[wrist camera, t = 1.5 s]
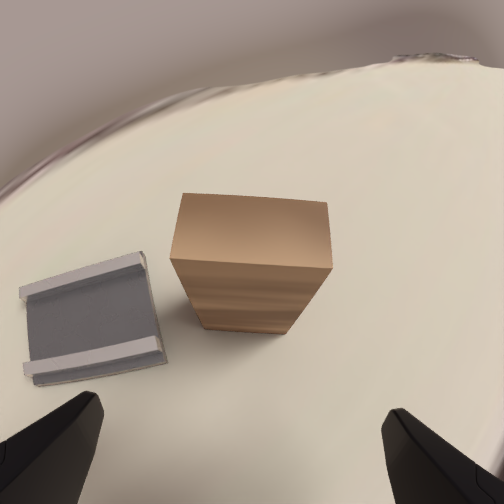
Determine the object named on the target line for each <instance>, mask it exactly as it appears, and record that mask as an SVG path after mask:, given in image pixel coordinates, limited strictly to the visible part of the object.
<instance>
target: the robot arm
mask: <svg viewBox="0 0 504 504" xmlns="http://www.w3.org/2000/svg"><path fill="white" fill-rule="evenodd" d="M103 418H104V410H103V407H102V404H101V402H100V399H99V396H98V395H97V394H96V393H93V392H90V391H84V392H82V393H80V394H79V395H77V396H76V397H74V398H73V399H71V400H69V401H68V402H66V403H65V404H63V405H62V406H60V407H58V408H57V409H55V410H54V411H52V412H50V413H49V414H47V415H46V416H44V417H42V418H41V419H39V420H38V421H36V422H34V423H33V424H31V425H30V426H28V427H26V428H25V429H23V430H21V431H20V432H18V433H16V434H15V435H13V436H12V437H10V438H8V439H7V441H6V440H5V441H3V442H1V443H0V504H77V503H78V500H79V497H80V494H81V491H82V488H83V485H84V482H85V479H86V476H87V474H88V471H89V468H90V465H91V462H92V460H93V457H94V454H95V450H96V446H97V442H98V437H99V433H100V429H101V426H102V422H103ZM381 433H382V439H383V445H384V452H385V459H386V466H387V471H388V475H389V479H390V483H391V487H392V491H393V495H394V499H395V503H396V504H504V481H502V480H500V479H499V478H497V477H495V476H494V475H492V474H491V473H489V472H488V471H486V470H485V469H483V468H482V467H481V466H479V465H478V464H476V463H475V462H474V461H472V460H471V459H470V458H468V457H467V456H465V455H464V454H463V453H461V452H460V451H459V450H457V449H456V448H455V447H453V446H452V445H451V444H449V443H448V442H447V441H445V440H444V439H443V438H441V437H440V436H439V435H438V434H436V433H435V432H434V431H432V430H431V429H430V428H428V427H427V426H426V425H424V424H423V423H422V422H421V421H419V420H418V419H417V418H415V417H414V416H413V415H412V414H410V413H409V412H408V411H406V410H405V409H403V408H397V409H392V410H390V411H389V413H388V415H387V417H386V419H385V421H384V423H383V425H382V428H381Z"/></svg>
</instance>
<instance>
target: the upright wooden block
mask: <svg viewBox="0 0 504 504" xmlns="http://www.w3.org/2000/svg"><path fill="white" fill-rule="evenodd" d="M170 260H171V262H172V265H173V267H174V269H175V271H176V273H177V275H178V277H179V279H180V281H181V284H182V286H183V288H184V290H185V292H186V294H187V296H188V298H189V300H190V302H191V304H192V306H193V308H194V310H195V312H196V314H197V316H198V318H199V320H200V322H201V324H202V325H203V327H204V329H209V330H221V331H235V332H251V333H271V334H286V333H287V332H288V330H289V329H290V328H291V326H292V325H293V324H294V322H295V321H296V320H297V318H298V317H299V316H300V314H301V313H302V312H303V310H304V309H305V307H306V306H307V305H308V303H309V302H310V300H311V299H312V298H313V296H314V295H315V293H316V292H317V291H318V289H319V288H320V286H321V285H322V283H323V282H324V281H325V279H326V278H327V276H328V275H329V273H330V272H331V270H332V269H333V263H332V250H331V238H330V227H329V217H328V207H327V202H317V201H306V200H294V199H282V198H268V197H254V196H237V195H218V194H195V193H183V195H182V199H181V204H180V208H179V213H178V218H177V223H176V227H175V232H174V237H173V242H172V248H171V253H170Z"/></svg>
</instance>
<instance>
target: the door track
mask: <svg viewBox="0 0 504 504" xmlns="http://www.w3.org/2000/svg"><path fill="white" fill-rule="evenodd" d="M19 298H20V299H21V300H23V301H25V302H26V303H27V326H28V340H29V351H30V360H31V361H30V362H25V363H23V369H24V375H26V376H31V377H33V382H34V385H36V386H47V385H54V384H61V383H68V382H75V381H81V380H87V379H93V378H98V377H104V376H109V375H114V374H120V373H125V372H130V371H134V370H139V369H144V368H148V367H153V366H157V365H161V364H166V363H168V361H167V357H166V354H165V350H164V346H163V341H162V337H161V333H160V329H159V324H158V320H157V315H156V311H155V306H154V301H153V296H152V291H151V286H150V280H149V275H148V269H147V263H146V257H145V255H144V253H143V252H142V251H139V252H135V253H132V254H128V255H124V256H121V257H117V258H114V259H111V260H107V261H104V262H100V263H97V264H93V265H90V266H87V267H83V268H80V269H77V270H73V271H70V272H67V273H63V274H60V275H57V276H54V277H50V278H47V279H44V280H41V281H38V282H34V283H31V284H28V285H25V286H22V287H19Z"/></svg>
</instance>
